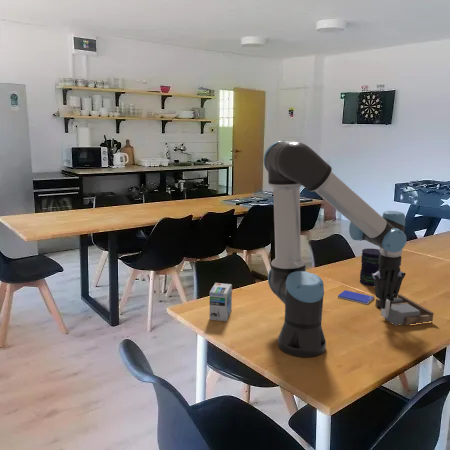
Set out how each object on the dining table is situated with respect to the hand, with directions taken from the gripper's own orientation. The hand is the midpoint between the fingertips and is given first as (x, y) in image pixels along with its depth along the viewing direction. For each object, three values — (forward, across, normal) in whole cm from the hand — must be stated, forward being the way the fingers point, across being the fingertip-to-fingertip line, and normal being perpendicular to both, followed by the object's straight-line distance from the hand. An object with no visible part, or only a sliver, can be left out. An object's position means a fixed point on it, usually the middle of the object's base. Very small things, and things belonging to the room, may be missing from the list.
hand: (384, 316), depth 168 cm
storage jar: (+2, +18, +38) cm, 42 cm away
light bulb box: (+2, -58, +18) cm, 61 cm away
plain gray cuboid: (+2, +6, -2) cm, 6 cm away
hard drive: (+2, +2, +22) cm, 22 cm away
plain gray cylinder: (+2, +9, +9) cm, 13 cm away
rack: (+2, +9, +2) cm, 10 cm away
